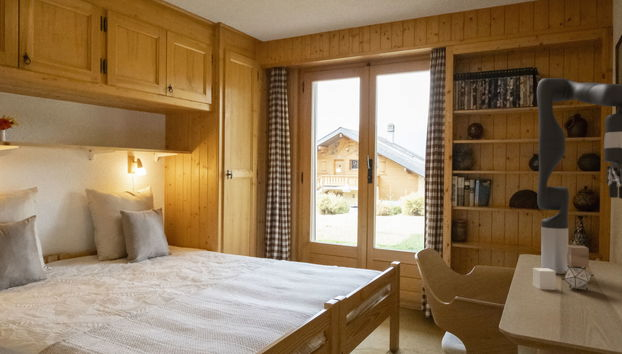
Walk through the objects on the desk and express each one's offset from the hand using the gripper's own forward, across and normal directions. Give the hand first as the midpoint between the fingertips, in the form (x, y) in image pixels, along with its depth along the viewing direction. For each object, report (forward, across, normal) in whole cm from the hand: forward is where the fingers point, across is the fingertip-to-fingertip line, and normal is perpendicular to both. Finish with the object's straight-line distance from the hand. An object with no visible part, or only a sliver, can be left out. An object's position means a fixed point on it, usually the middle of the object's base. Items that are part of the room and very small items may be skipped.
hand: (618, 198), depth 137 cm
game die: (+30, -1, -11) cm, 32 cm away
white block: (+30, 0, -21) cm, 37 cm away
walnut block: (+22, -1, -11) cm, 25 cm away
